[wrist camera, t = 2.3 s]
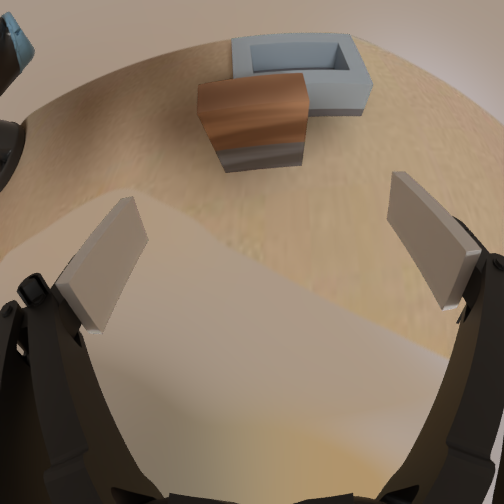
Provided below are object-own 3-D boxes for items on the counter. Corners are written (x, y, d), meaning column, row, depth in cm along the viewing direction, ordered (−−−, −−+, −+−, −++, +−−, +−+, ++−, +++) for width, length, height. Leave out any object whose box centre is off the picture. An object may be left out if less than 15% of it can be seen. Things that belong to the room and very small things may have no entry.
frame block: (361, 116, 28) (373, 84, 22) (242, 122, 30) (233, 89, 24) (343, 65, 30) (349, 34, 24) (238, 70, 31) (231, 38, 25)
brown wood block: (301, 165, 28) (309, 100, 17) (225, 173, 29) (197, 113, 18) (297, 141, 28) (302, 72, 18) (224, 148, 29) (198, 84, 18)
